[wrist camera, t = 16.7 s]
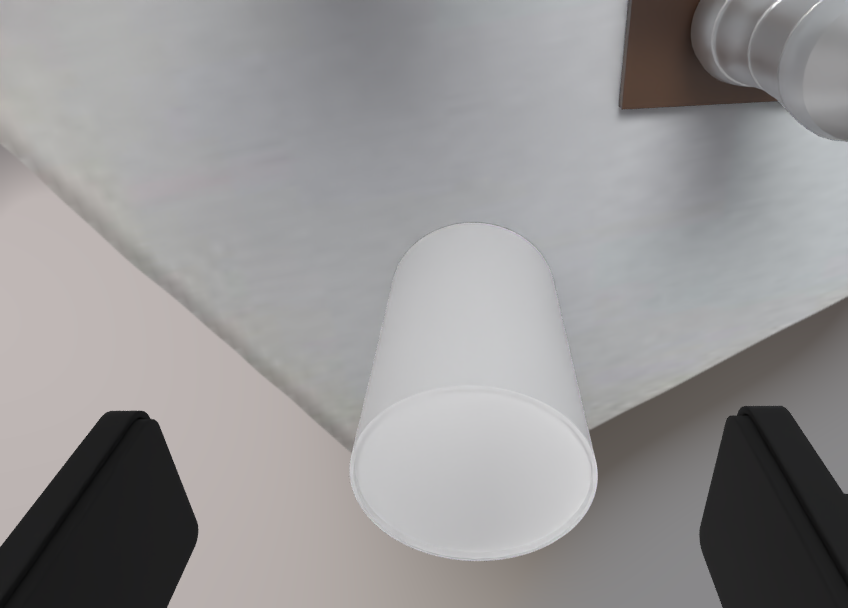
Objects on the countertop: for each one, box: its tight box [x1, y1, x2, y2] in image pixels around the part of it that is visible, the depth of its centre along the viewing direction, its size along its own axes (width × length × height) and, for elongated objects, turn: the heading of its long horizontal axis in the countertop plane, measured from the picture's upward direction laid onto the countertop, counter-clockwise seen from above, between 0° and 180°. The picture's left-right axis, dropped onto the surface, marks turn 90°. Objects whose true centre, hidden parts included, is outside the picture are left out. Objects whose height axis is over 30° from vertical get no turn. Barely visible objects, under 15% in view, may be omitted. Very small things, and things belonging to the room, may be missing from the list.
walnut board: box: [619, 0, 778, 109], centre depth 38 cm, size 10×13×1 cm
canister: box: [350, 223, 598, 561], centre depth 42 cm, size 14×14×20 cm
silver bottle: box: [691, 0, 848, 142], centre depth 29 cm, size 6×7×20 cm
